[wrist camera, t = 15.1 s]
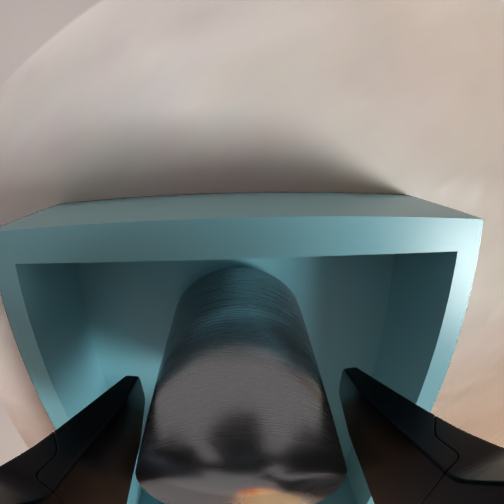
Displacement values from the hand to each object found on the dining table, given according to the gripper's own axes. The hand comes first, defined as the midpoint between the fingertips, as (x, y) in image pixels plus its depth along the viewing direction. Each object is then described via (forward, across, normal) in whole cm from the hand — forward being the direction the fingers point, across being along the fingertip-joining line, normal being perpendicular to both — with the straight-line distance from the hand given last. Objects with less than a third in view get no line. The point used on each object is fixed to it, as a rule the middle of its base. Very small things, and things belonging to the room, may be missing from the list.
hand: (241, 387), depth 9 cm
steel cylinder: (+4, 0, 0) cm, 4 cm away
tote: (+5, 0, +4) cm, 6 cm away
